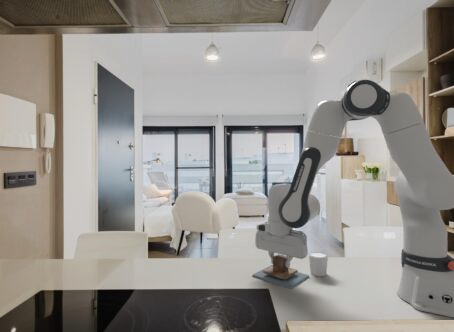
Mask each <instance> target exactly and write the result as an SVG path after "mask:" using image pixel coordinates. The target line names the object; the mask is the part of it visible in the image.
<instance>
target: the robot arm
mask: <svg viewBox="0 0 454 332" xmlns="http://www.w3.org/2000/svg"><path fill="white" fill-rule="evenodd" d="M418 108H419V107H418V106H417V105H416V103H415V101H414V100H413V98H412V97H411V95H409V93H406V92H393V93H390V92H389V91H387V90H386V89H384V87H382V86H381V85H380V84H378V83H377V82H375V81H373V80H370V79H360V80H357V81H354V82H353V83H351V84H350V85H349V86H348V87H347V88H346V90H345V91H344V94H343V96H342V97H341V99H339V100H334V99H333V100H331V99H328V100H327V99H326V100H323V101H320V102H319V103H318V104H317V105H316V108H315V109H314V112H313V114H312V116H311V119H310V121H309V124H308V128H307V131H306V135H305V138H304V143H303V147H302V151H301V154H300V158H299V161H298V163H297V166H296V168H295V172H294V175H293V177H292V178H293V179H292V180H291V181H292V182H291V184H290V182H289V183H287V182H283V183H277V184H273V185H271V186H270V188H269V190H268V195H267V196H268V197H267V209H268V218H267V221H266V222H262V223H259V224H257V225H256V230H257V231H256V233H255V243H254V244H255V247H256V248H257V249H258V250H263V251H266V252H267V253H268V256H269V258H270V263H271V265H273V257H274V256H275V254H277V255H278V254H279V255H283V256H287V259H288V260H287V261H286V262H284V267H287V268H291V261H292V260H293V259H294V258H295V259H300V260H303V259H305V258H306V257H307V256H309V253H308V251H309V250H308V245H307V244H308V243H307V242H308V235H306V234H305V233H304V231H301V230H296V229H301V228H302V227H304V225H306V224H307V223H309V222H310V221H312V220H313V219H315V218H316V217H317V216H318V215H319V213H320V211H321V205H320V200H318V198H317V197H316V196H315V195H313V194H311V192H312V188H313V185H314V183H315V179H316V177H317V174H318V172H319V171H320V169H321V168H322V167H323V166H324V165H325V164H327V163H328V162H329V161H330V160H331V159H332V158H333V157H334V156H335V154H336V152H337V150H338V148H339V146H340V142H341V140H342V139H341V138H342V136H343V132H344V129H345V127H346V124H347V123H348V122H350V121H361V120H365V119H368V118H370V117H371V118H373V119H375V120H376V121H377V123H378V124H379V125H380V129H381V132H382V135H383V138H384V140H385V144H386V146H387V149H388V152H389V155H390V157H391V159H392V161H394V163H395V164H396V166H397V167H398V168H399V170H400V171H401V173H400V174H399V175H398V176H397V177H396V178H395V180H394V182H393V187H394V190H395V193H396V195H397V200H398V204H399V210H400V214H401V219H402V228H403V229H402V231H403V232H402V234H403V236H402V237H403V239H402V241H403V246H402V247H403V248H402V249H401V252H400V253H401V257H400V261H401V262H400V263H401V268H402V271H401V278H400V283H399V286H398V289H397V291H396V292H397V295H398V297H399V298H401V299H402V301H403V300H404V301H405V302H407V303H409V304H410V305H411V306H412V307H413V308H414V309H416V310H418V311H422V312H426V313H430V314H435V315H439V316H445V317H450V318H454V257H452V256H450V255H449V254H448V228H447V226H446V223H445V222H444V220H443V218H442V216H441V215H442V214H441V211H446V210H447V211H448V210H452V209H454V175H453V174H452V173H451V172H450V170H449V169H448V167H447V166H446V164H445V163H444V161H443V160H442V158H441V156H440V155H439V154H438V152H437V151H436V148H435V147H434V144H433V143H432V140H431V138H430V135H429V133H428V130H427V128H426V124H425V122H424V119H423V117H422V115H421V112H420V110H419V109H418Z"/></svg>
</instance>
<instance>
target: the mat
mask: <svg viewBox="0 0 454 332" xmlns="http://www.w3.org/2000/svg"><path fill="white" fill-rule="evenodd" d="M272 266H273V264H271V265H269V266H267V267H265V268H263V269H261V270H259V271H257V272H255V273H253V274H252V277H254V278H256V279H260V280H263V281H267V282H269V283H272V284H275V285H278V286H281V287H284V288H287V289H293V288H295V287H296V286H297V285H299V284H300V283H302V282H303V281H305V280H306V279H308V278H310V275H309V274H307V273H303V272H297V273H295V274H294V275H292V276H290V277H289V278H287V279H285V280H284V279H281V278H278V277H274V276H271V275H268V274H265V273H263V271H264V270H266V269H268V268H270V267H272Z"/></svg>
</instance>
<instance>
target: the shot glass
mask: <svg viewBox="0 0 454 332" xmlns="http://www.w3.org/2000/svg"><path fill="white" fill-rule="evenodd" d="M328 258H329V255H328V254H326V253H324V252H318V251H317V252H316V251H315V252H310V253H308V259H309V261H308V262H309V271H310V274H311V275H313V276H316V277H324V276H327V270H328V269H327V268H328Z"/></svg>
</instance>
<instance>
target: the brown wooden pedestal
mask: <svg viewBox="0 0 454 332" xmlns="http://www.w3.org/2000/svg"><path fill="white" fill-rule="evenodd" d="M287 260H288V259H287V256H286V255H282V254H278V253H277V255H274V257H273V264H272V265H273V266H272V267H270V268H268V269H266V270H264V271H263V273H265V274H268V275H271V276H274V277H278V278H281V279H284V280H285V279H287V278H289V277H290V276H292V275H294V274H295V273H297V272H298V271H299V270H298V269H295V268H292V267H289V268H287V267H284V262H286V261H287Z"/></svg>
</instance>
